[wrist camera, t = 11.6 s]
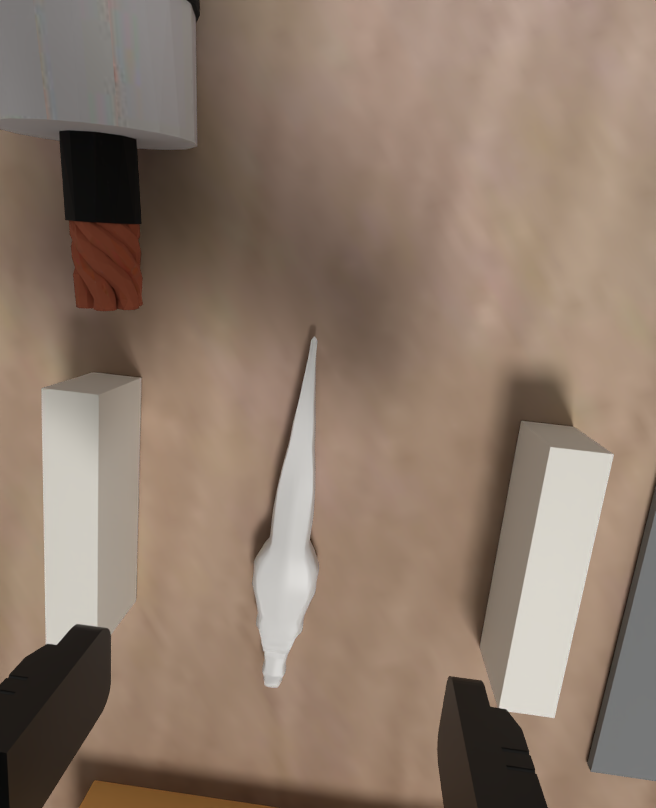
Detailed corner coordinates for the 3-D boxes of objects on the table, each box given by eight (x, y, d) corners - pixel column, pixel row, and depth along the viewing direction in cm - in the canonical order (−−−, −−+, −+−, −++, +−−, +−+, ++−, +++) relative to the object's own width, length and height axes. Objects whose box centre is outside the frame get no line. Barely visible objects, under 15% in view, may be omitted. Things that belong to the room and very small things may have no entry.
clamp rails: (92, 594, 24) (45, 645, 21) (92, 372, 22) (41, 388, 18) (527, 653, 23) (554, 718, 20) (573, 426, 21) (613, 454, 17)
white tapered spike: (305, 669, 24) (300, 701, 23) (247, 660, 24) (238, 690, 23) (350, 338, 21) (349, 343, 19) (283, 329, 21) (275, 333, 19)
